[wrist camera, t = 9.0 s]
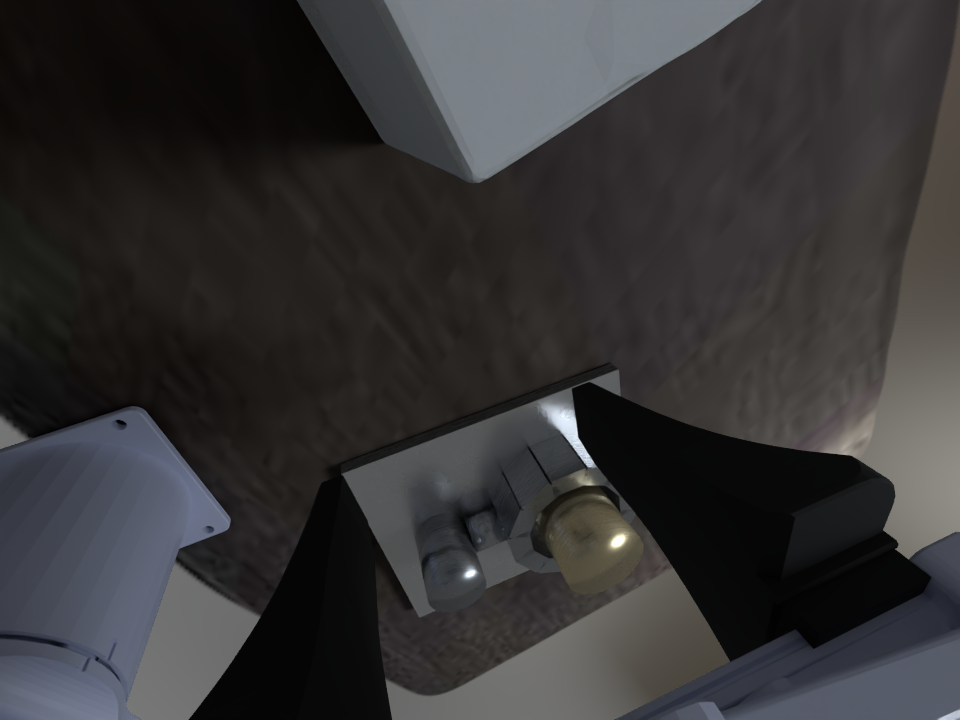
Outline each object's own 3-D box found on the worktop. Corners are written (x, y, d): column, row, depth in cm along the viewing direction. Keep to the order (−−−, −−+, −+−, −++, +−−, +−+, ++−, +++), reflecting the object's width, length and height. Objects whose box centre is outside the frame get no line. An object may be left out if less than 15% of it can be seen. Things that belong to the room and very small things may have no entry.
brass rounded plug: (525, 521, 29) (570, 606, 24) (516, 472, 26) (564, 554, 21) (586, 496, 30) (642, 573, 24) (583, 447, 27) (644, 520, 22)
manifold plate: (417, 606, 31) (431, 680, 27) (340, 463, 24) (343, 535, 20) (622, 518, 33) (664, 573, 29) (611, 362, 26) (663, 408, 22)
